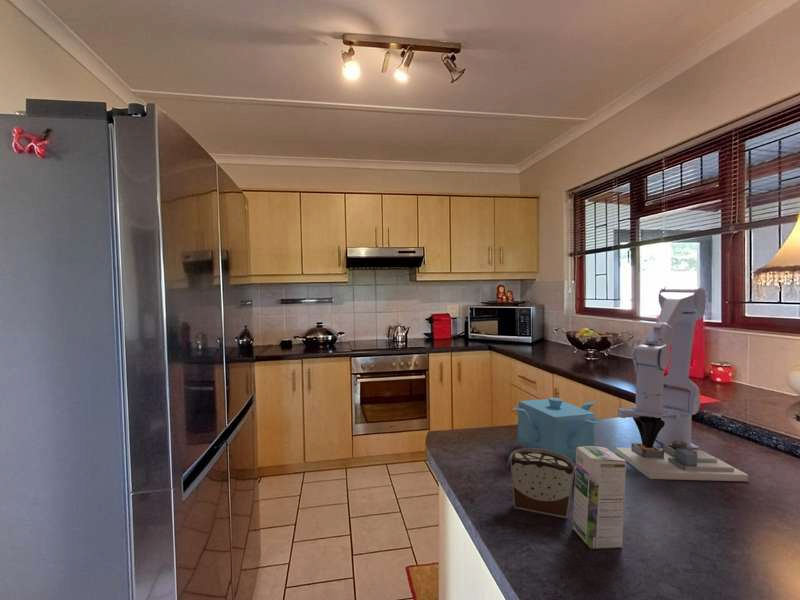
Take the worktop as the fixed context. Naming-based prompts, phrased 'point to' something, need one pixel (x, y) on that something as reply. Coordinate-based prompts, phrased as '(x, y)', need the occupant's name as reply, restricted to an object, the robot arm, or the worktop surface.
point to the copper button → (646, 447)
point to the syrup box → (599, 497)
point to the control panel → (678, 465)
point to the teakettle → (555, 426)
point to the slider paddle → (686, 457)
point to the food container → (541, 481)
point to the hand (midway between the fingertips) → (647, 446)
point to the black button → (679, 445)
